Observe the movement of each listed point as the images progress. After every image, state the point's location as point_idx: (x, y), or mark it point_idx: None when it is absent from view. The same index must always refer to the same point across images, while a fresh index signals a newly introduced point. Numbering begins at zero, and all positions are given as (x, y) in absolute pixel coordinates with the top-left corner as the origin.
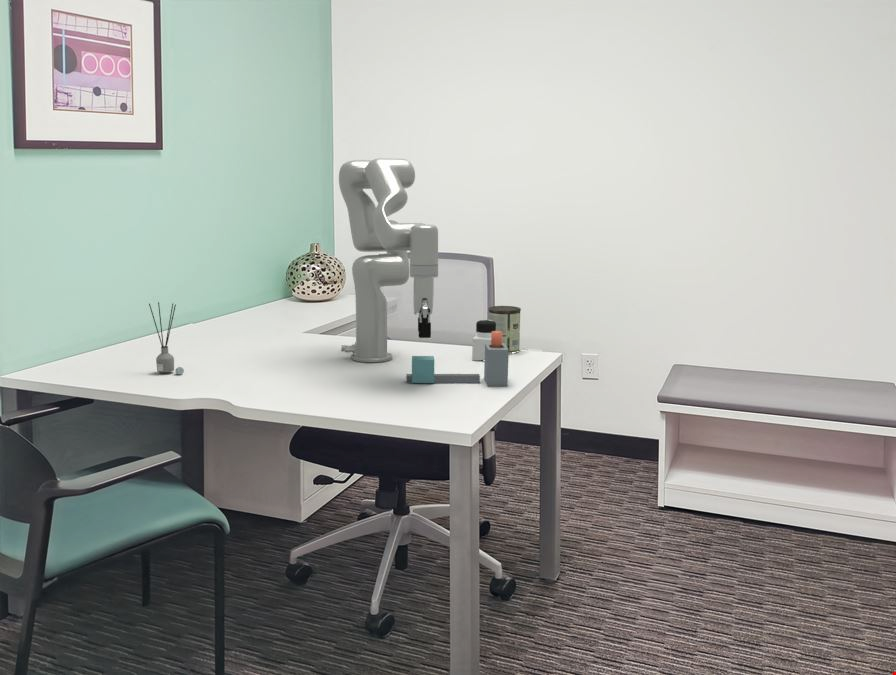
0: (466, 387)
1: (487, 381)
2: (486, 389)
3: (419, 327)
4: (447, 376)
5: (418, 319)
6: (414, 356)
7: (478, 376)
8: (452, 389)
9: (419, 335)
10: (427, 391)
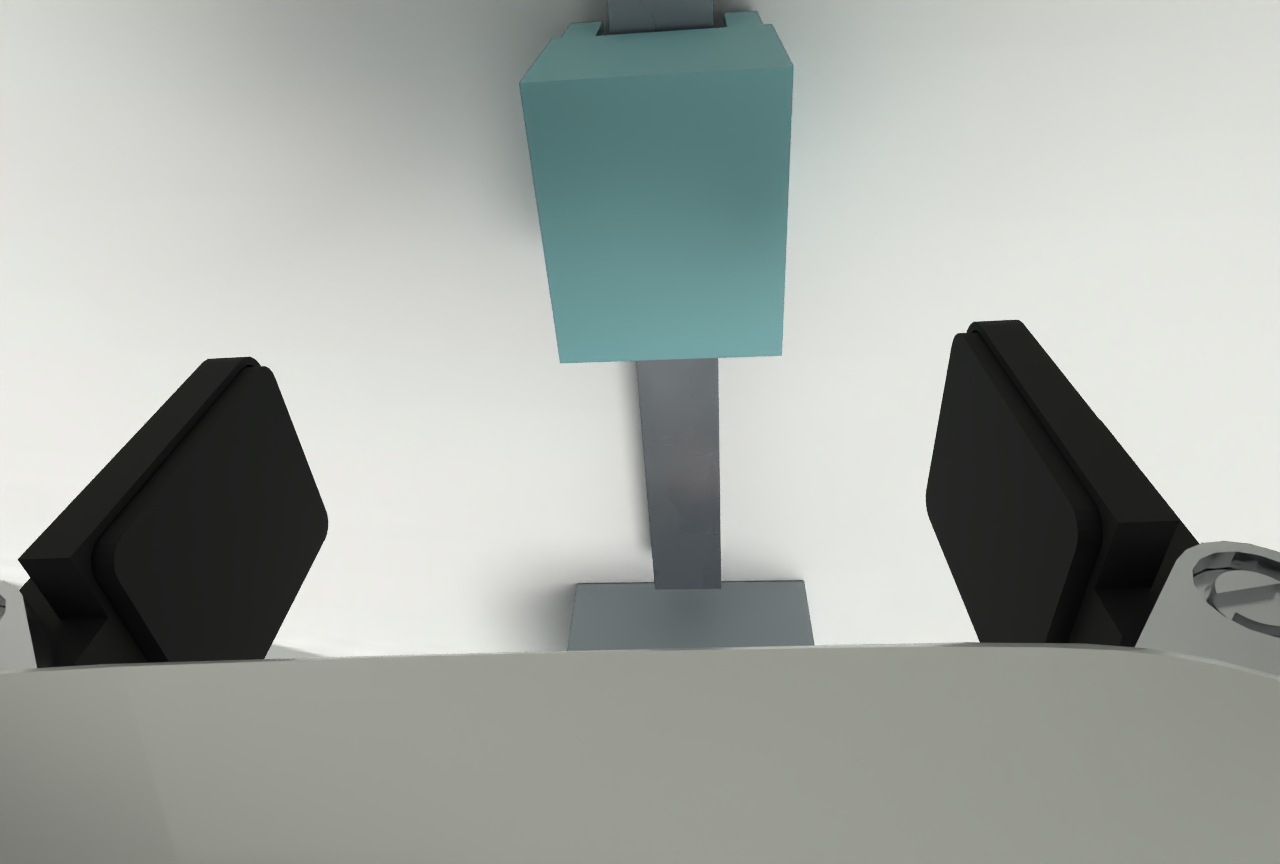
0: (520, 472)
1: (574, 608)
2: (488, 574)
3: (106, 492)
4: (638, 382)
5: (1099, 493)
6: (750, 109)
7: (655, 579)
8: (439, 384)
9: (197, 385)
10: (317, 191)
